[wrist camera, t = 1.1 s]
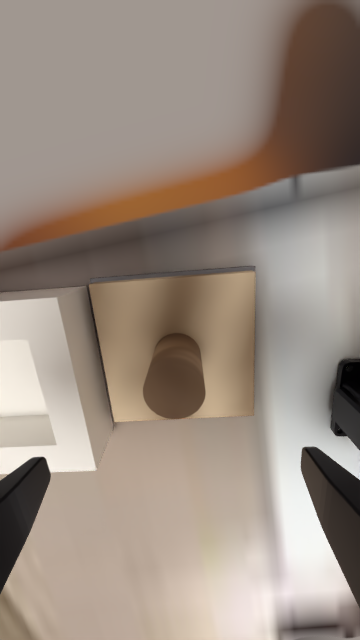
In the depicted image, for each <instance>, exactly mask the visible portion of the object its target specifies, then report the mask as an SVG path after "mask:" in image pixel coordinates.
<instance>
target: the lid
mask: <svg viewBox="0 0 360 640" xmlns="http://www.w3.org/2000/svg"><path fill="white" fill-rule="evenodd" d="M255 274H256V272H254V271H238V272H225V273H211V274H198V275H185V276H172V277H159V278H145V279H132V280H119V281H106V282H94V283H91V284H89V289H90V295H91V300H92V305H93V311H94V316H95V321H96V327H97V332H98V337H99V343H100V348H101V354H102V359H103V364H104V370H105V375H106V380H107V386H108V391H109V396H110V402H111V407H112V412H113V418H114V422H125V421H147V420H168V419H190V418H211V417H233V416H254V355H255Z"/></svg>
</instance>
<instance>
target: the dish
mask: <svg viewBox="0 0 360 640" xmlns="http://www.w3.org/2000/svg"><path fill="white" fill-rule="evenodd" d="M112 431H113V422H112V417H111V412H110V406H109V401H108V396H107V391H106V385H105V380H104V375H103V370H102V364H101V359H100V354H99V349H98V343H97V338H96V333H95V328H94V322H93V317H92V312H91V306H90V301H89V296H88V291H87V286H79V287H66V288H53V289H39V290H26V291H13V292H0V474H10V473H11V472H13V471H14V470H15V469H17V468H18V467H20V466H21V465H22V464H24V463H25V462H26V461H28V460H29V459H31V458H32V457H45V458H46V460H47V464H48V467H49V470H50V472H71V471H96V470H97V468H98V465H99V463H100V461H101V458H102V456H103V453H104V451H105V448H106V446H107V443H108V441H109V438H110V436H111V433H112Z"/></svg>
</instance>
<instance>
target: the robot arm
mask: <svg viewBox="0 0 360 640" xmlns="http://www.w3.org/2000/svg"><path fill="white" fill-rule="evenodd" d="M347 366H349V368H347V369H346V367H347ZM338 429H339V430H338ZM331 430H332V431H333V433H334V434H335V435H336V436H348V437H349V438H350V439H351V441H352V442H353V443H354V444H355V445H356V446H357V448H358V449H359V450H360V359H352V360H344V361H342V362H341V363H340V364H339V369H338V377H337V385H336V389H335V392H334V400H333V408H332V425H331ZM301 471H302V475H303V477H304V480H305V483H306V486H307V488H308V491H309V494H310V497H311V499H312V502H313V505H314V507H315V510H316V513H317V516H318V518H319V521H320V524H321V526H322V528H323V531H324V533H325V535H326V537H327V540H328V542H329V544H330V546H331V548H332V550H333V552H334V555H335V557H336V559H337V561H338V563H339V565H340V567H341V570H342V572H343V574H344V576H345V578H346V580H347V582H348V584H349V587H350V589H351V591H352V593H353V595H354V597H355V599H356V602H357V604H358V606H359V608H360V480H359V479H358V478H356V477H355V476H354V475H352V474H351V473H350V472H348V471H347V470H346V469H344V468H343V467H342V466H340V465H339V464H338V463H337V462H335V461H334V460H333V459H331V458H330V457H329V456H327V455H326V454H325V453H323V452H322V451H321V450H320V449H318V448H317V447H304V448H303V449H302V457H301ZM50 477H51V474H50V470H49V467H48V464H47V460H46V458H45V457H32V458H31V459H29V460H28V461H26V462H25V463H24V464H22V465H21V466H20V467H18V468H17V469H15V470H14V471H13V472H11V473H10V474H9V475H7V476H6V477H5V478H3V479H2V480H0V594H1V592H2V589H3V587H4V585H5V583H6V581H7V579H8V577H9V575H10V573H11V571H12V569H13V567H14V565H15V562H16V560H17V558H18V556H19V554H20V552H21V550H22V548H23V546H24V544H25V542H26V539H27V537H28V535H29V533H30V531H31V528H32V526H33V523H34V521H35V518H36V516H37V513H38V510H39V508H40V505H41V503H42V500H43V498H44V495H45V492H46V490H47V487H48V485H49V482H50Z"/></svg>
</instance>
